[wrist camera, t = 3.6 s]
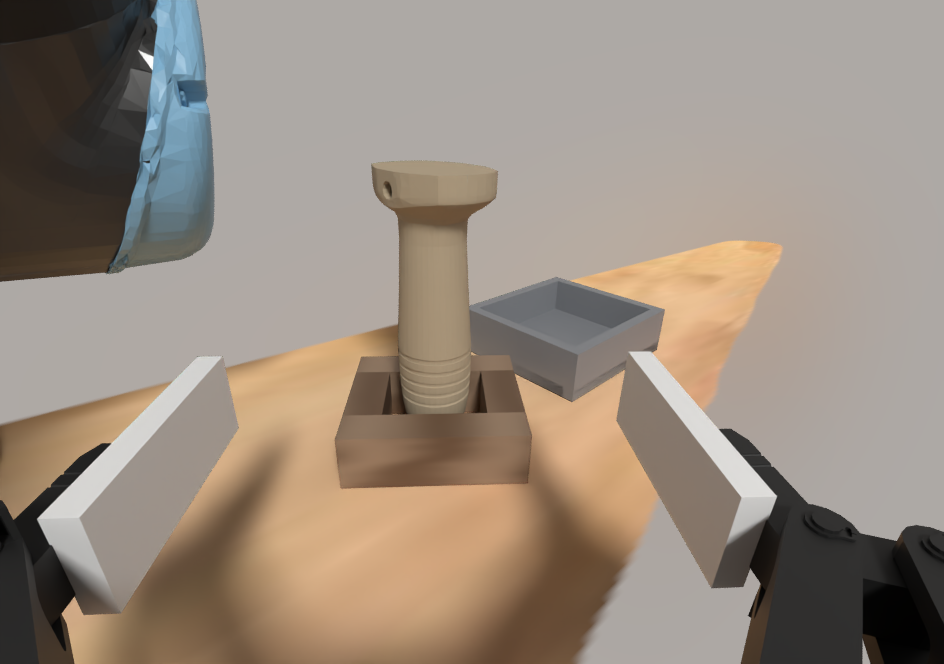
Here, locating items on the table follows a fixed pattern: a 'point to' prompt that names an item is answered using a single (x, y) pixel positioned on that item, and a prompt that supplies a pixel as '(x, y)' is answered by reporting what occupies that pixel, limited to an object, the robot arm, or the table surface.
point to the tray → (564, 333)
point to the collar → (433, 431)
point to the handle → (434, 275)
